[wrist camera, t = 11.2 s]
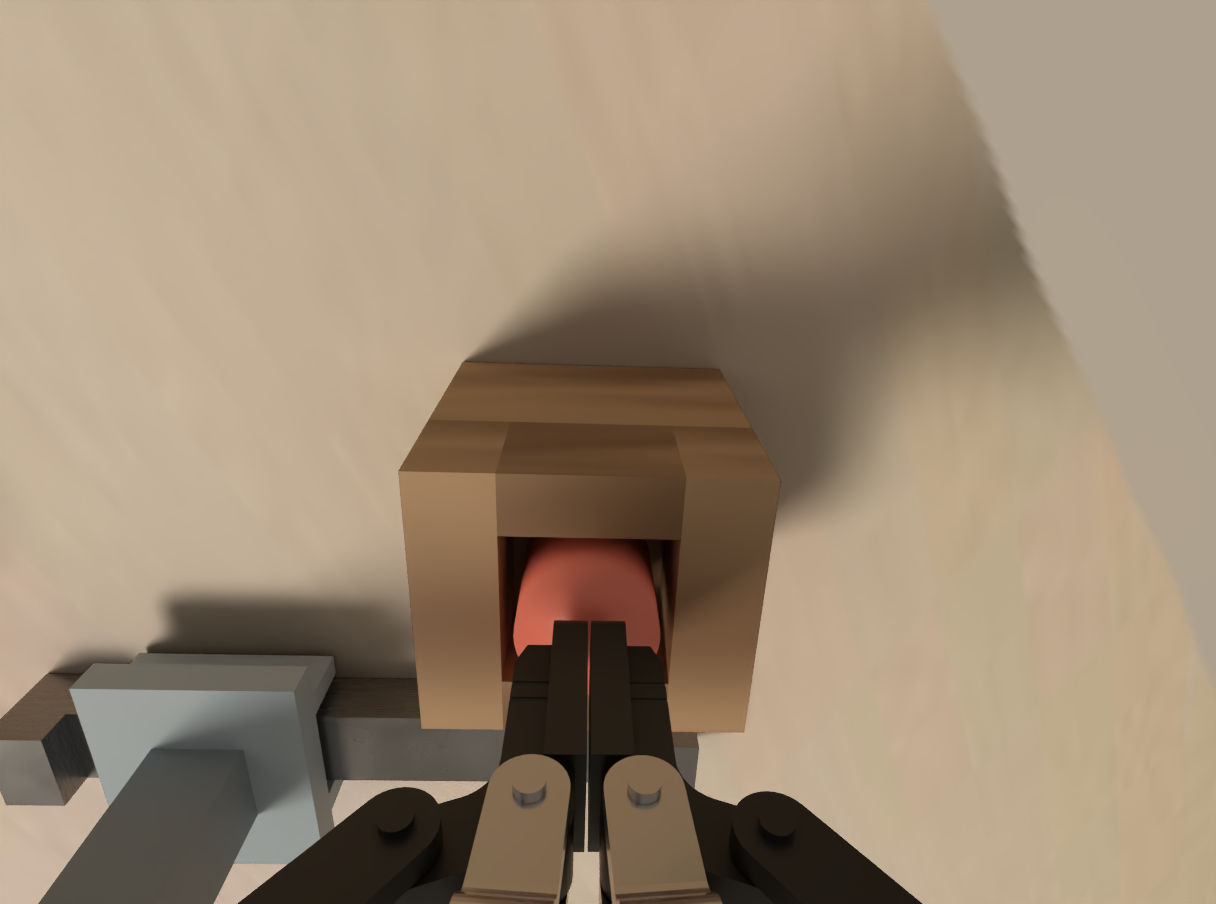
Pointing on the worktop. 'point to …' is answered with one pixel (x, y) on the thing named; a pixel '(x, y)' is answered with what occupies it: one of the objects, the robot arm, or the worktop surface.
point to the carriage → (198, 773)
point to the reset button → (586, 589)
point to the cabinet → (586, 525)
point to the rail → (347, 724)
